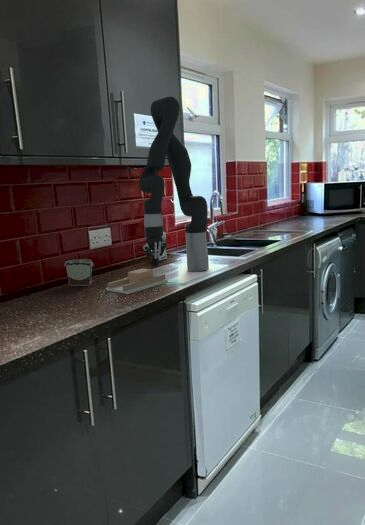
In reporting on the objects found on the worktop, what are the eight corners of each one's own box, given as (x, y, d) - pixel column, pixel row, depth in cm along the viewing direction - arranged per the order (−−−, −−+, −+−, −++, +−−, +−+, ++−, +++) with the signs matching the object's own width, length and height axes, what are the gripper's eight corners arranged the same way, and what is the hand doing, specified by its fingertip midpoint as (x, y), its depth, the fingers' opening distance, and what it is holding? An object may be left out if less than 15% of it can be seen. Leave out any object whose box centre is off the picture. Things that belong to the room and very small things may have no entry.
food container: (100, 282, 183) (98, 258, 181) (93, 285, 177) (91, 261, 175) (73, 281, 186) (71, 258, 184) (66, 285, 180) (63, 261, 178)
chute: (146, 279, 184) (145, 272, 184) (167, 281, 177) (167, 274, 176) (106, 290, 168) (105, 282, 167) (127, 294, 160) (127, 286, 160)
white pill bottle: (160, 260, 227) (159, 232, 225) (152, 259, 231) (150, 232, 228) (167, 258, 232) (166, 231, 229) (159, 258, 235) (157, 231, 233)
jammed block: (142, 279, 178) (142, 268, 178) (153, 280, 175) (152, 269, 174) (128, 283, 172) (127, 272, 172) (139, 284, 169) (138, 273, 168)
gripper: (158, 223, 184) (159, 264, 187) (135, 226, 174) (137, 268, 177) (171, 224, 179) (172, 265, 182) (148, 226, 169) (150, 270, 172)
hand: (155, 267), depth 180 cm, fingers closed
